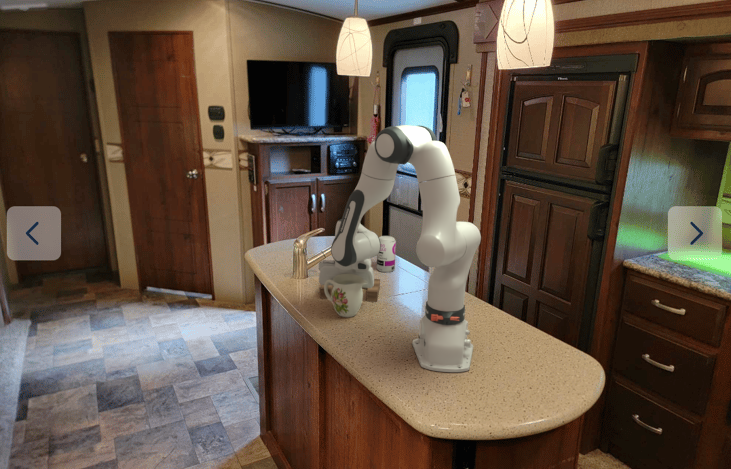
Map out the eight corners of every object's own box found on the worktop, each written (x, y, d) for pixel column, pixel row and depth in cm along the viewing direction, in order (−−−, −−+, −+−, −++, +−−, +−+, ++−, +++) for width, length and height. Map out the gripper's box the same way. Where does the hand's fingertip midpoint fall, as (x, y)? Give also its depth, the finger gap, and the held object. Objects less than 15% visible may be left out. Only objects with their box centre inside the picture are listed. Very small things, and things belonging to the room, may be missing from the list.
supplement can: (396, 267, 223) (397, 236, 219) (392, 273, 215) (394, 241, 211) (378, 266, 225) (379, 234, 221) (375, 271, 217) (375, 239, 213)
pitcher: (333, 300, 183) (333, 266, 179) (373, 313, 174) (375, 278, 170) (315, 311, 174) (315, 275, 170) (357, 325, 165) (358, 288, 161)
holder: (377, 301, 184) (377, 292, 183) (320, 298, 186) (320, 288, 185) (379, 288, 198) (380, 279, 197) (326, 285, 200) (326, 276, 199)
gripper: (316, 262, 173) (316, 298, 177) (373, 265, 171) (372, 302, 175) (320, 256, 179) (320, 291, 183) (375, 260, 177) (374, 295, 181)
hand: (346, 296), depth 179 cm, fingers closed
